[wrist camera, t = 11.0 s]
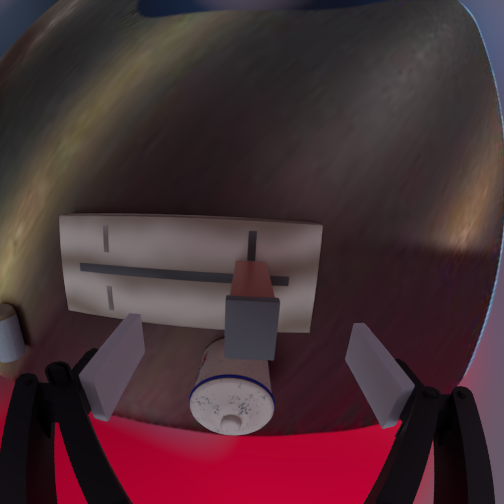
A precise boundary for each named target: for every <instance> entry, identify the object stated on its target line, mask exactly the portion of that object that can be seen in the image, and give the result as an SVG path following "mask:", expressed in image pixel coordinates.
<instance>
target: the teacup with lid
mask: <svg viewBox="0 0 504 504" xmlns="http://www.w3.org/2000/svg"><path fill="white" fill-rule="evenodd" d="M224 342H225V338H223V339H220V340H217V341H215V342H214V343H212V344H211V345H210V346H208V348H207V349H206V350H205V352H204V354H203V356H202V360H201V364H200V368H199V371H198V375H197V379H196V383H195V387H194V389H193V390H192V392H191V394H190V398H189V405H190V409H191V412H192V414H193V416H194V417H195V419H196V420H197V421H198V422H199V423H200V424H201V425H203V426H204V427H206V428H207V429H209V430H212V431H214V432H217V433H221V434H226V435H243V434H248V433H251V432H254V431H257V430H258V429H260V428H262V427H263V426H265V425H266V424H267V423H268V422H269V420H270V419H271V417H272V415H273V413H274V410H275V400H274V397H273V395H272V393H271V385H270V376H269V367H268V360H245V359H227V358H224Z"/></svg>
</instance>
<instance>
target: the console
mask: <svg viewBox="0 0 504 504" xmlns="http://www.w3.org/2000/svg"><path fill="white" fill-rule="evenodd" d="M59 223H60V243H61V256H62V266H63V275H64V283H65V290H66V296H67V302H68V308H69V310H72V311H77V312H83V313H88V314H94V315H100V316H106V317H112V318H119V319H125V318H126V316H127V315H128V314H129V313H134V314H141V322H148V323H156V324H165V325H174V326H184V327H195V328H207V329H221V330H225V300H226V295H230V292H231V286H232V280H233V274H234V269H235V263H236V261H250V262H266V264H267V268H268V272H269V276H270V280H271V284H272V288H273V292H274V296H275V298H279V300H280V311H279V320H278V329H277V332H309V331H310V325H311V318H312V312H313V305H314V298H315V290H316V283H317V275H318V267H319V258H320V249H321V239H322V229H323V225H320V224H318V223H316V222H305V221H291V220H276V219H260V218H242V217H222V216H199V215H170V214H121V213H72V214H66V215H61V216H59Z"/></svg>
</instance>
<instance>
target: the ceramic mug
mask: <svg viewBox="0 0 504 504" xmlns="http://www.w3.org/2000/svg"><path fill="white" fill-rule="evenodd" d="M25 351H26V347H25V343H24V340H23V336H22V332H21V329H20V325H19V321H18V317H17V314H16V311H15V309H14V308H13V307H12V306H11V305H9V304H0V362H12V361H15V360H17V359H19V358H20V357H21V356H22V355H23V354H24V353H25Z"/></svg>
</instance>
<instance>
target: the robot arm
mask: <svg viewBox="0 0 504 504" xmlns="http://www.w3.org/2000/svg"><path fill="white" fill-rule="evenodd" d="M144 353H145V346H144V338H143V331H142V322H141V314H134V313H129V314H128V315H127V316H126V318H125V319H124V320H123V321H122V322H121V324H120V325H119V326H118V327H117V328H116V329H115V331H114V332H113V333H112V334H111V335H110V337H109V338H108V339H107V340H106V342H105V343H104V344H103V345H102V346H101V348H100V349H96V348H93V349H91V350H89V351H88V352H86V353H85V355H84V356H83V357H82V359H80V360H79V362H78V363H77V364H76V365H75V366H74V368H73V369H72V370H71V368H70V366H69V364H67V363H65V362H61V361H59V362H53V363H51V364H49V365H48V366H47V367H46V368H45V374H46V376H47V379H48V381H49V383H41V382H39V380H38V378H37V377H36V375H34V374H31V373H26V374H22V375H20V376H19V377H18V378H17V380H16V382H15V386H14V389H13V393H12V396H11V400H10V404H9V408H8V412H7V417H6V421H5V426H4V431H3V437H2V443H1V449H0V504H57V495H56V483H55V463H54V437H55V422H57V423H59V427H60V430H61V434H62V437H63V441H64V444H65V447H66V450H67V453H68V456H69V459H70V462H71V465H72V467H73V470H74V473H75V475H76V478H77V480H78V483H79V485H80V487H81V490H82V492H83V494H84V496H85V499H86V501H87V503H88V504H133V503H132V502H131V500H130V498H129V497H128V495H127V494H126V492H125V490H124V489H123V487H122V485H121V483H120V482H119V480H118V478H117V476H116V474H115V473H114V471H113V469H112V467H111V465H110V463H109V461H108V459H107V457H106V455H105V453H104V451H103V449H102V447H101V444H100V442H99V440H98V438H97V435H96V433H95V431H94V428H93V426H92V424H91V421H90V419H89V416H88V414H89V413H90V411H92V413H93V415H94V418H97V419H100V420H104V421H107V422H108V420H109V419H110V417H111V415H112V413H113V411H114V409H115V407H116V405H117V403H118V401H119V399H120V397H121V396H122V394H123V392H124V390H125V388H126V386H127V384H128V382H129V381H130V379H131V377H132V375H133V373H134V371H135V370H136V368H137V366H138V364H139V362H140V360H141V359H142V357H143V355H144ZM345 360H346V362H347V364H348V366H349V367H350V369H351V371H352V373H353V375H354V376H355V378H356V380H357V382H358V384H359V386H360V387H361V389H362V391H363V393H364V395H365V397H366V399H367V400H368V402H369V404H370V406H371V408H372V410H373V412H374V413H375V415H376V417H377V419H378V421H379V423H380V425H381V427H382V428H387V427H391V426H395V425H396V423H397V421H398V419H399V417H400V419H401V421H402V424H401V426H400V428H399V430H398V431H397V433H396V435H395V437H396V439H395V441H394V443H393V446H392V448H391V451H390V453H389V455H388V457H387V459H386V461H385V464H384V466H383V468H382V470H381V472H380V474H379V476H378V478H377V480H376V482H375V484H374V486H373V488H372V489H371V491H370V493H369V495H368V497H367V498H366V500H365V502H364V504H413V501H414V499H415V496H416V493H417V490H418V488H419V485H420V482H421V479H422V476H423V473H424V470H425V466H426V463H427V460H428V456H429V453H430V449H431V445H432V441H433V443H434V473H435V474H434V475H435V476H434V504H495V496H494V486H493V478H492V471H491V465H490V459H489V454H488V449H487V445H486V440H485V436H484V432H483V428H482V424H481V420H480V417H479V413H478V410H477V406H476V403H475V400H474V397H473V394H472V392H471V391H470V390H469V389H468V388H466V387H462V386H458V387H455V388H454V389H453V391H452V393H451V394H440V392H439V391H438V390H437V389H435V388H433V387H429V386H424V385H423V384H422V383H421V381H420V380H419V379H418V378H417V377H416V375H415V374H413V372H412V370H411V369H410V368H409V367H408V366H407V365H406V363H404V362H403V361H401V360H400V359H394V358H393V357H392V356H391V355H390V353H389V352H388V351H387V350H386V348H385V347H384V346H383V345H382V344H381V342H380V341H379V340H378V339H377V338H376V336H375V335H374V334H373V333H372V332H371V330H370V329H369V328H368V327H367V326H366V324H365V323H354V324H353V329H352V333H351V338H350V342H349V346H348V350H347V354H346V358H345Z"/></svg>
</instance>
